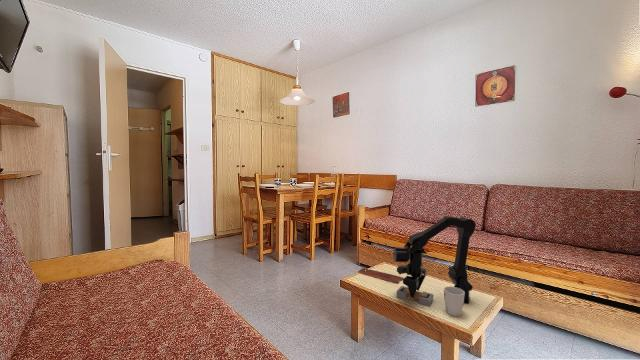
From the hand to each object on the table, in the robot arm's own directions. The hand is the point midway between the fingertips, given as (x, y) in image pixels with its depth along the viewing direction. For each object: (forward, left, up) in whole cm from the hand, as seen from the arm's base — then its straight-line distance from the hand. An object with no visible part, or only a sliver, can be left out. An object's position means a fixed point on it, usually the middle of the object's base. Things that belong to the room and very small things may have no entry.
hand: (414, 293), depth 129 cm
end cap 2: (-5, 0, -3) cm, 6 cm away
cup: (-17, +3, -3) cm, 18 cm away
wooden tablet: (+25, -17, -3) cm, 30 cm away
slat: (0, 0, -3) cm, 3 cm away
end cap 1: (+5, 0, -2) cm, 6 cm away
